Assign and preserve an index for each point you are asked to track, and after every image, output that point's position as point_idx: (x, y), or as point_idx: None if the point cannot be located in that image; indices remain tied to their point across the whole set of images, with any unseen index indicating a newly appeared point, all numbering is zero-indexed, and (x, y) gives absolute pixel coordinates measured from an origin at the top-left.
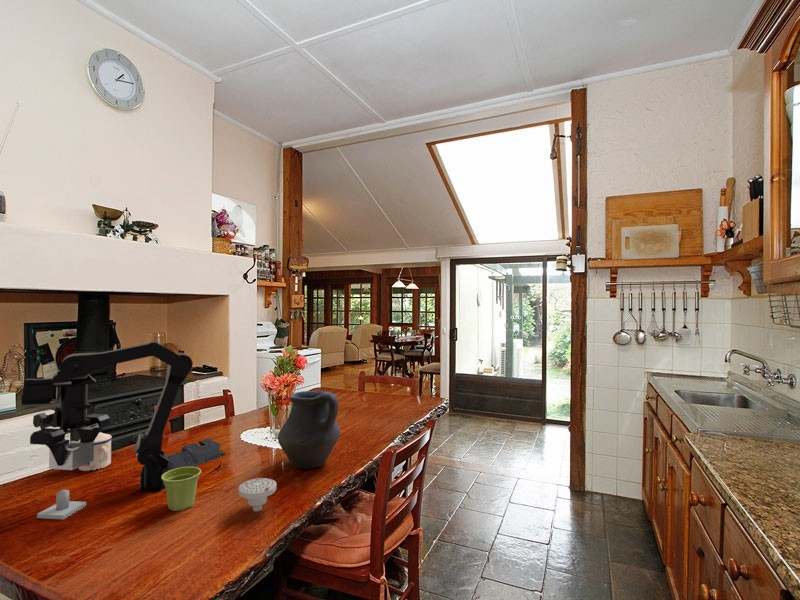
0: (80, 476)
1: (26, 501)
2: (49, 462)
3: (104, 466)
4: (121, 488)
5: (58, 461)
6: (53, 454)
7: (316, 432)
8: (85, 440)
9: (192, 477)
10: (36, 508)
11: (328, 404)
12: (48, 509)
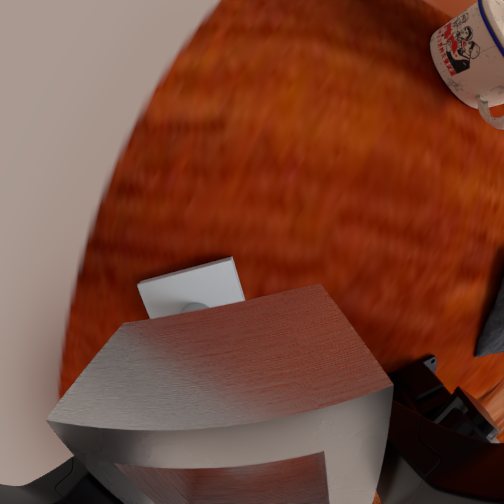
0: (410, 84)
1: (201, 104)
2: (105, 348)
3: (473, 107)
4: (389, 320)
5: None
6: (78, 460)
7: None
8: (392, 487)
9: None
10: (178, 200)
11: None
12: (169, 286)
